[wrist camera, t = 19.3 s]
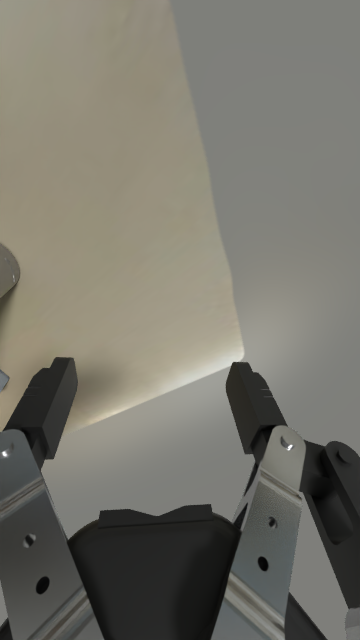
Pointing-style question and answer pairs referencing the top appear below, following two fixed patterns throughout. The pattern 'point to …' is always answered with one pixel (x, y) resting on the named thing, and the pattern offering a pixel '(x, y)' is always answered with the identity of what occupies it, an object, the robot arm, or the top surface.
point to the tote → (3, 379)
